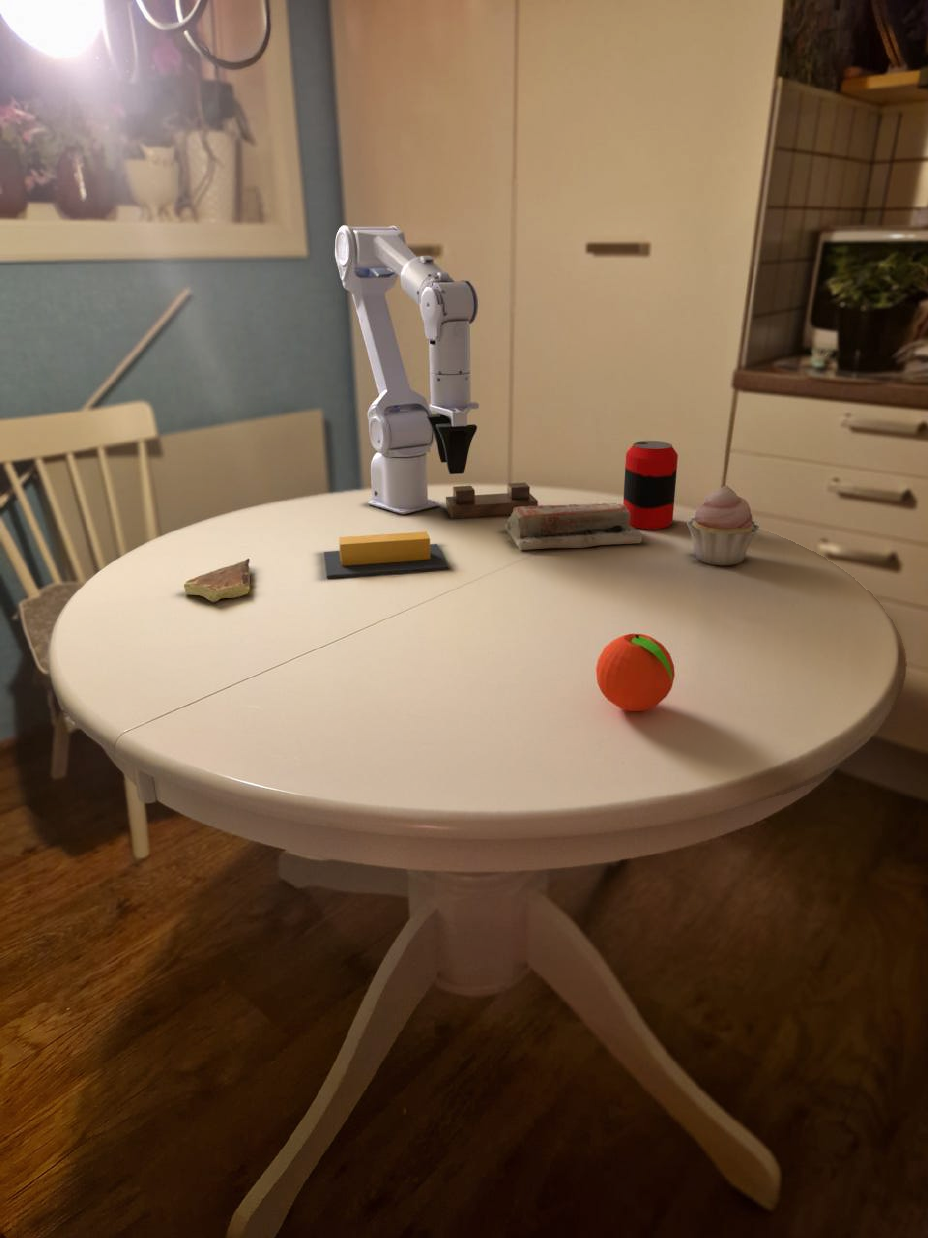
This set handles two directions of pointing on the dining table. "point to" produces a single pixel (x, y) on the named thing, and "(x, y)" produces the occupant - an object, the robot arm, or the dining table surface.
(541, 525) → the packaged product
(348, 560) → the bar
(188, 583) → the shard
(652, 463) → the soda can
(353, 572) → the mat
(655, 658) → the clementine
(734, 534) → the cupcake
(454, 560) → the dining table surface
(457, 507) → the brown two-peg stand
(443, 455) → the robot arm
